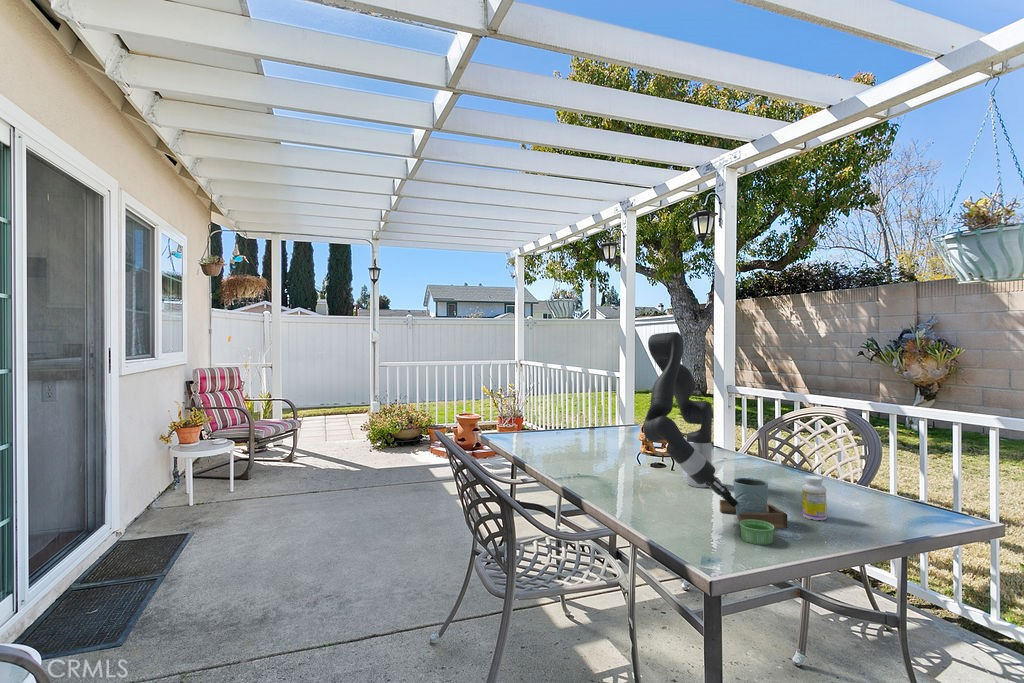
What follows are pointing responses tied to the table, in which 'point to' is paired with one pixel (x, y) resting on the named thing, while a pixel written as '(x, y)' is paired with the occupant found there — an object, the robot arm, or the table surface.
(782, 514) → the brown piece
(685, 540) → the table surface
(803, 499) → the supplement bottle
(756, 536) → the ramekin
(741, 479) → the blue-grey plant pot
